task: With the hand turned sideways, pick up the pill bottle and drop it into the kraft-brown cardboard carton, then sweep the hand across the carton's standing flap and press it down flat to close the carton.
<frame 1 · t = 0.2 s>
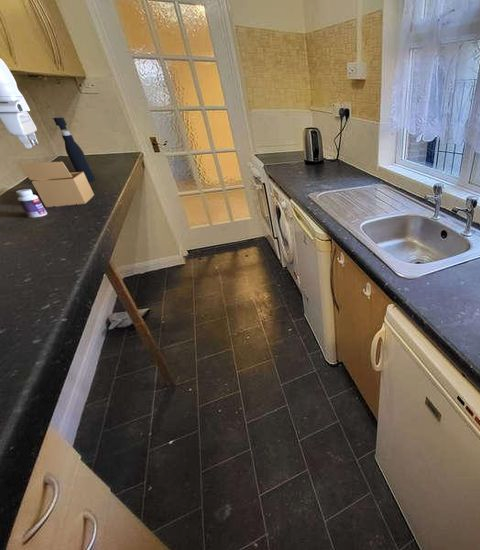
hand: (32, 146, 116), 23 cm above the worktop, tool pointing down, fingers open, 8 cm apart
tea bag: (57, 183, 153), on the worktop
carton: (71, 200, 130), on the worktop
carton flap: (46, 170, 116), point 14 cm above the worktop, hinge at 110.0°
pill bottle: (38, 216, 114), on the worktop
folded umbrella: (88, 180, 159), on the worktop
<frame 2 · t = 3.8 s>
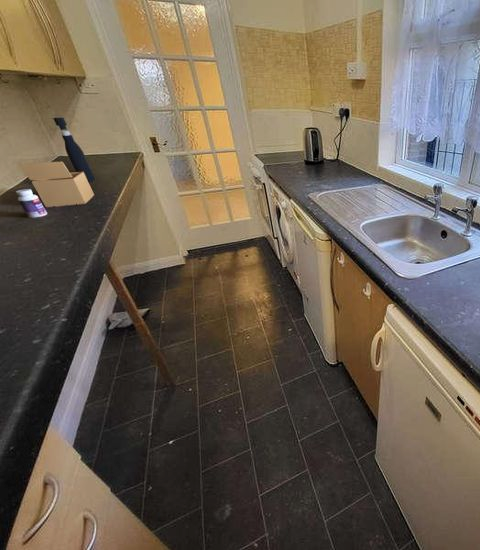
nothing on the worktop moved.
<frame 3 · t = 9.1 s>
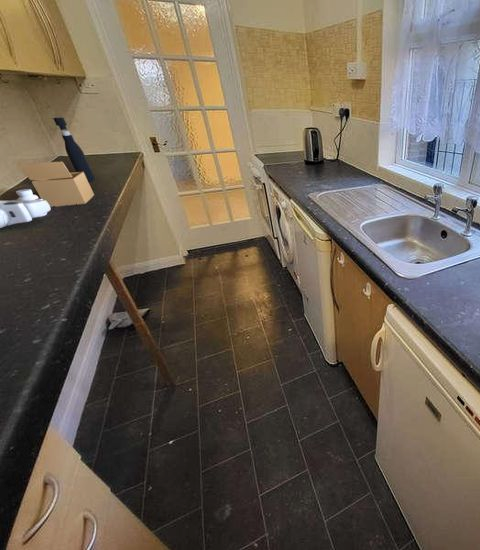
hand: (32, 200, 112), 6 cm above the worktop, tool horizontal, fingers closed on pill bottle, 5 cm apart
pill bottle: (38, 216, 114), on the worktop, touching gripper
everything else where it was.
when the fingers open (20 cm above the worktop, at t = 17.5 s): pill bottle drops 13 cm, resting on carton.
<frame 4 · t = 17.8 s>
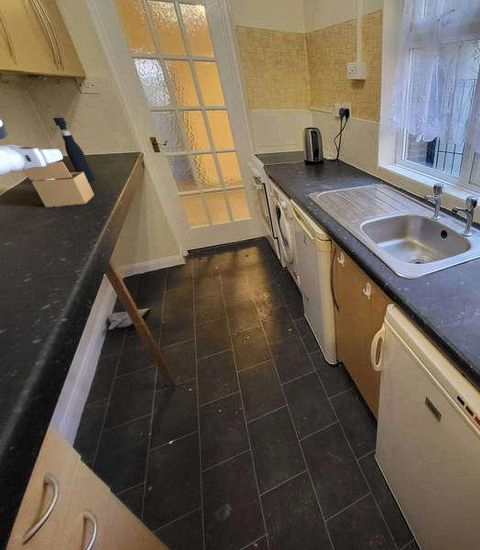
hand: (45, 151, 119), 20 cm above the worktop, tool horizontal, fingers open, 8 cm apart
pill bottle: (67, 198, 128), point 1 cm above the worktop, touching carton
everything else where it was.
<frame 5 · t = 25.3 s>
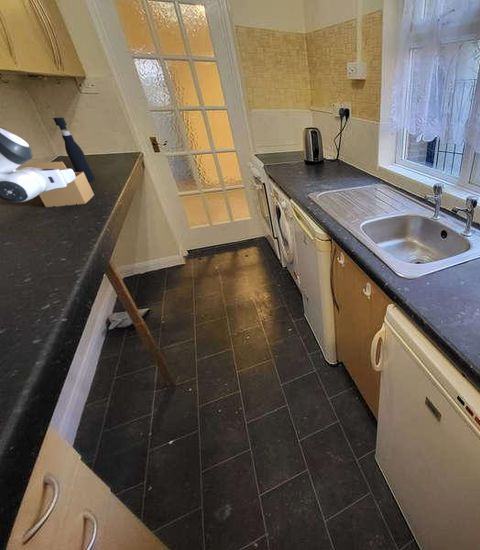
hand: (46, 172, 116), 14 cm above the worktop, tool horizontal, fingers closed, pressing on carton flap
carton flap: (46, 170, 116), point 14 cm above the worktop, hinge at 110.0°, touching gripper
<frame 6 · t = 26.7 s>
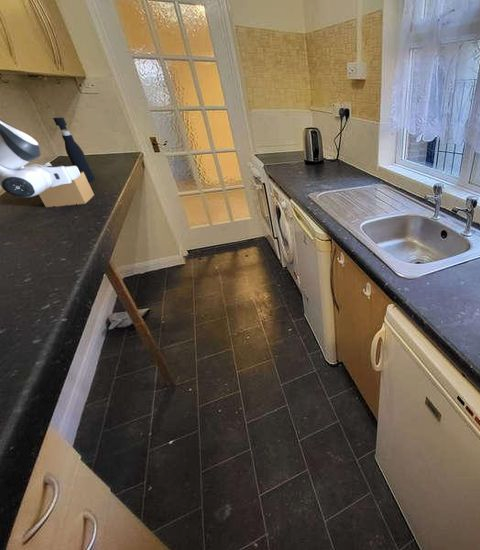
hand: (51, 169, 120), 14 cm above the worktop, tool horizontal, fingers closed
carton flap: (53, 173, 120), point 12 cm above the worktop, hinge at 23.3°
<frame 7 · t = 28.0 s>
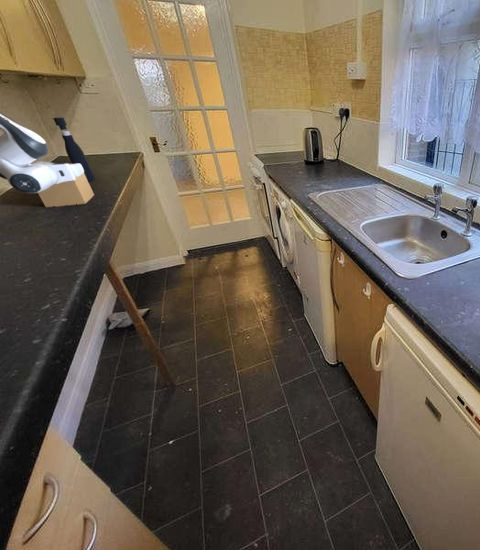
hand: (56, 166, 124), 14 cm above the worktop, tool horizontal, fingers closed
carton flap: (53, 174, 121), point 12 cm above the worktop, hinge at 14.7°, touching gripper
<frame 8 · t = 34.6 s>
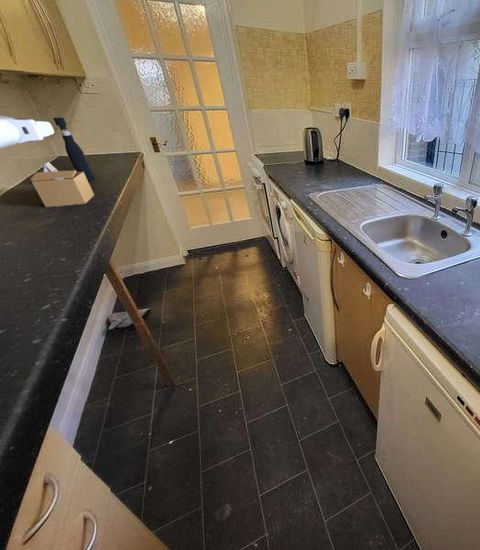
hand: (22, 126, 108), 30 cm above the worktop, tool horizontal, fingers closed
carton flap: (54, 175, 121), point 12 cm above the worktop, hinge at 10.9°
at the end: pill bottle inside the target area in the carton (1.0 cm from its centre), point 0.3 cm above the carton's base; carton flap at +11° (first picture: +110°) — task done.
